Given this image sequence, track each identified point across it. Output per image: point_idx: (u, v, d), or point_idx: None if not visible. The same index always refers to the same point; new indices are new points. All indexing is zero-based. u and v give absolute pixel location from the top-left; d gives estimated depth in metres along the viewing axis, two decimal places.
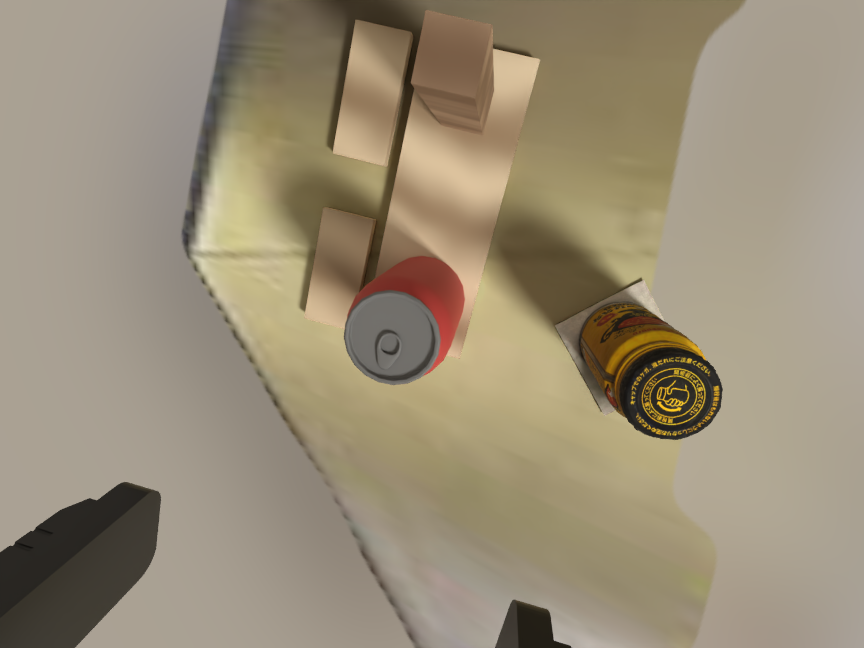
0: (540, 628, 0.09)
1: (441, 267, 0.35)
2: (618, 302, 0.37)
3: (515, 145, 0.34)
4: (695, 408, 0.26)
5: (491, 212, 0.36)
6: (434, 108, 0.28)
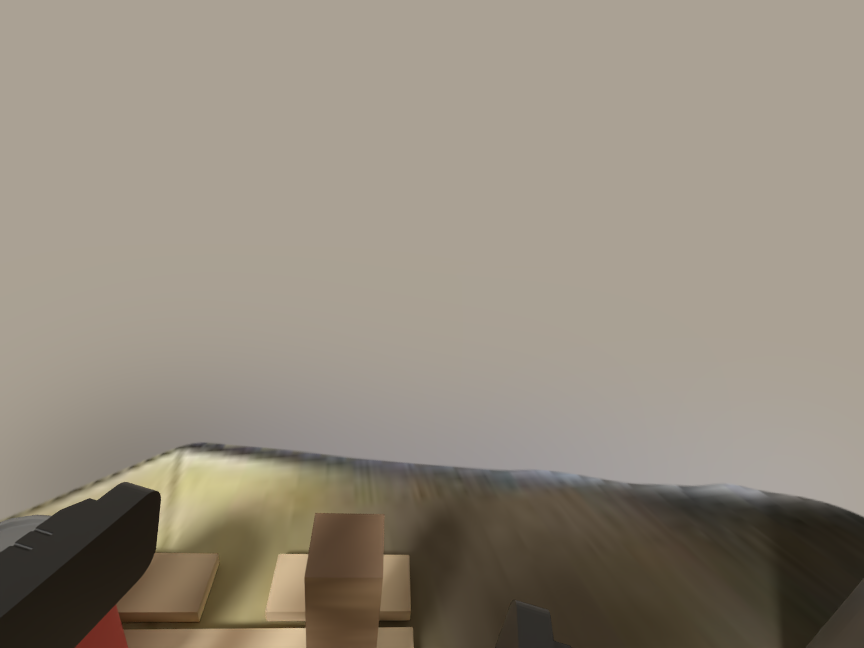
0: (540, 628, 0.09)
1: None
2: None
3: None
4: None
5: None
6: None
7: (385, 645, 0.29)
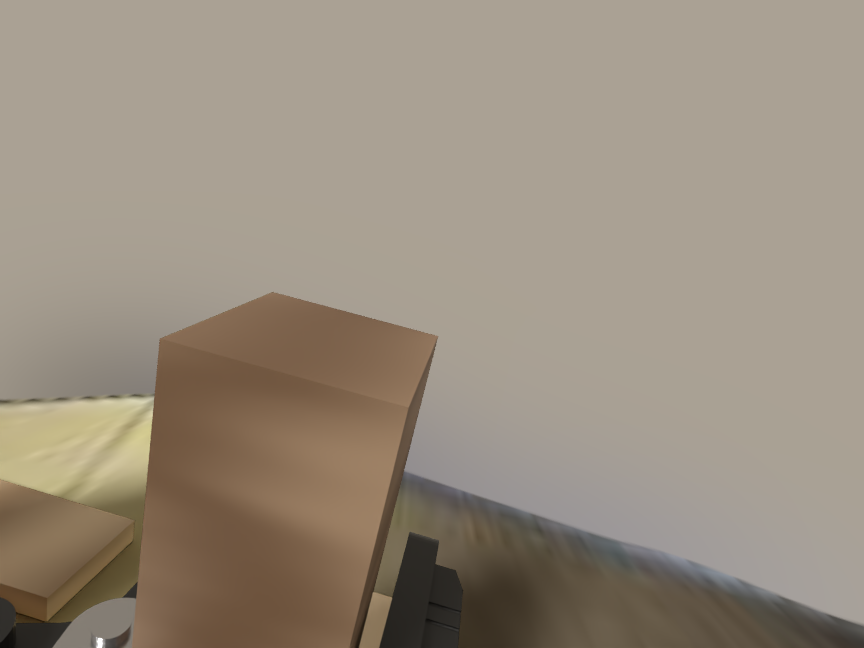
0: (426, 552, 0.10)
1: None
2: None
3: None
4: None
5: None
6: None
7: None
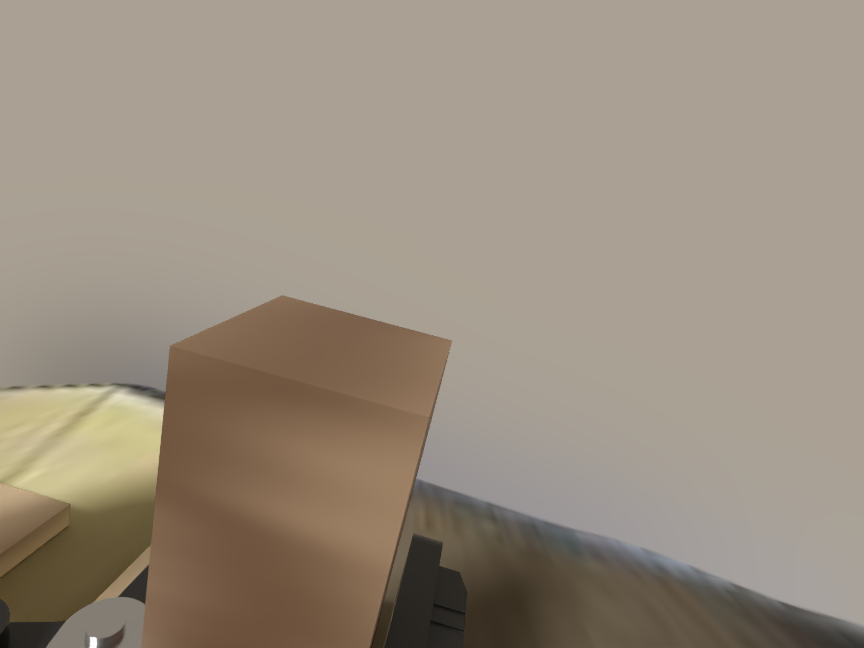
0: (429, 554, 0.10)
1: None
2: None
3: None
4: None
5: None
6: None
7: None
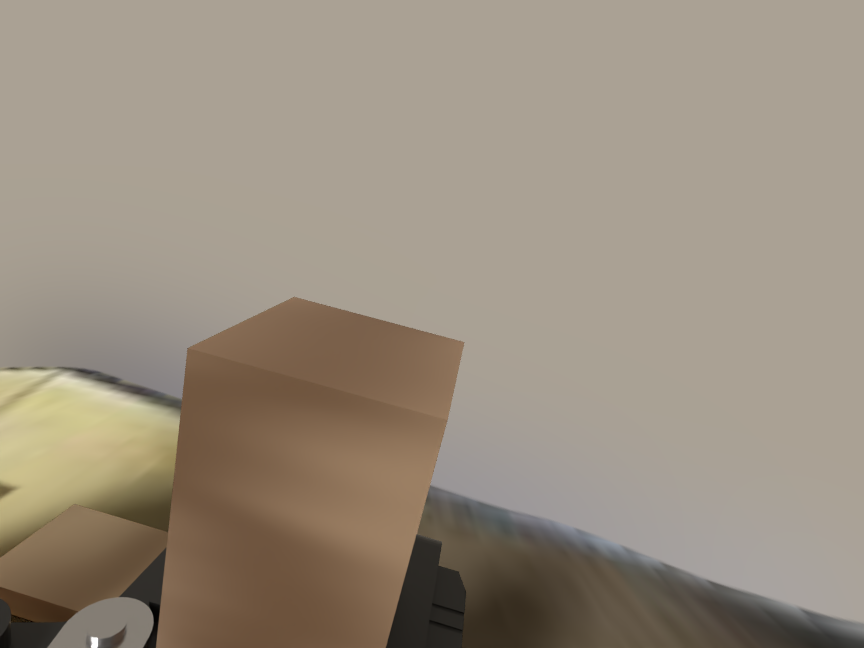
0: (429, 554, 0.10)
1: None
2: None
3: None
4: None
5: None
6: None
7: None
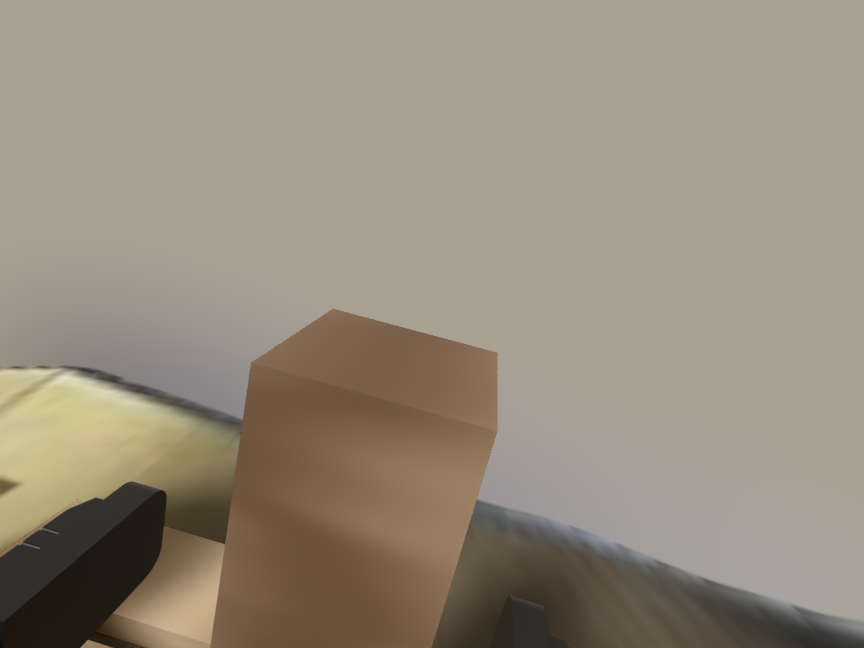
0: (535, 624, 0.09)
1: None
2: None
3: None
4: None
5: None
6: None
7: None
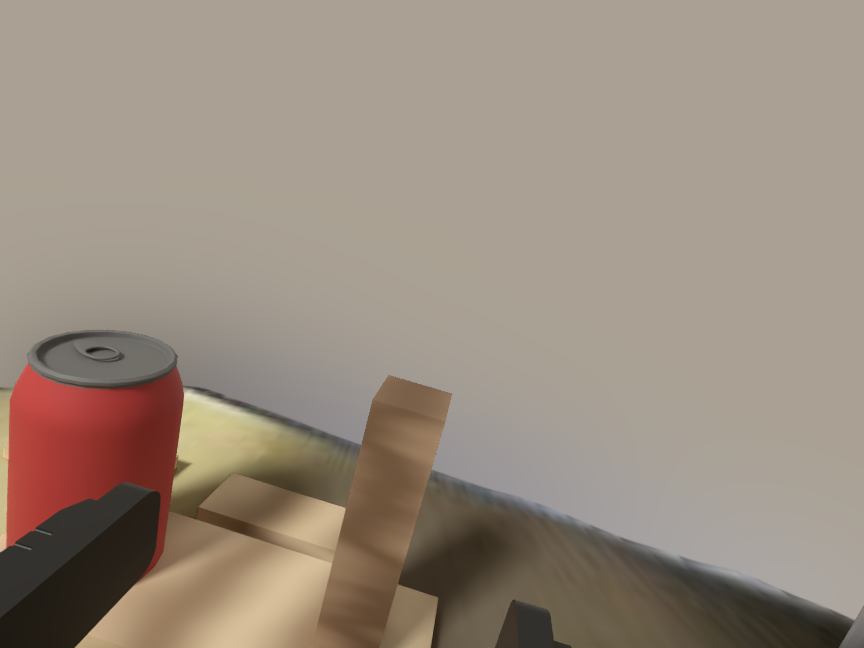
0: (540, 628, 0.09)
1: None
2: None
3: None
4: None
5: None
6: None
7: (406, 602, 0.27)
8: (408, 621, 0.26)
